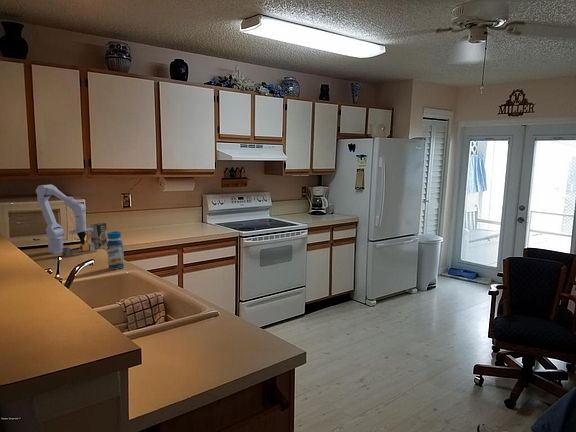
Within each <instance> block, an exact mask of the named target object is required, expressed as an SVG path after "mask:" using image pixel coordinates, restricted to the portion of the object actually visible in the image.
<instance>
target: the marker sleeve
mask: <svg viewBox="0 0 576 432" xmlns="http://www.w3.org/2000/svg"><path fill="white" fill-rule="evenodd" d="M86 243H87V240H86V239H84V244H81V243H80V244H79V247H82V249H79V251H88V250H89V244H86Z"/></svg>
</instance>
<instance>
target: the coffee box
mask: <svg viewBox="0 0 576 432" xmlns="http://www.w3.org/2000/svg"><path fill="white" fill-rule="evenodd" d="M89 228H93V231H90V242H92V243H94V246H95V250H96V249H97V250H101V249H103V248H108V247H107V243H108V236H107V233H108V230H107V223H106V222H103V223H102V222H99V223H94V224H90V225H89Z"/></svg>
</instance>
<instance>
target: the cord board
mask: <svg viewBox="0 0 576 432" xmlns="http://www.w3.org/2000/svg"><path fill="white" fill-rule="evenodd" d="M86 244H89V250H88V251H80V249H82V247H80V246H79V247H75V248H71V247H68V246H67V247H63V248H62V251H63V252H62V253H61V256H63V257H66V258H73V257H77V256H83V255H87V254H93V252H94V253H97V251H98V249H97V250H96V249H95V246H94V243H92V242H91V241H89V242H86Z"/></svg>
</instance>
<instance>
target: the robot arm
mask: <svg viewBox="0 0 576 432" xmlns="http://www.w3.org/2000/svg"><path fill="white" fill-rule="evenodd" d="M35 193H36V195H37V197H36V198H37V202H38V205H39V207H40V210H41V213H42V215H43V218H44V219H45V223H46V224H47V225H46V226H47V227H46V228H45V232H46V237H47V238H48V242H47V245H48V247H47V248H48V251H47V253H49V254H52V255H56V254H57V255H58V254H63V251H62V248H64V240H63V238H64V236H65V229H63V227H62V225H61V224H59V223H58V222H57V220H56V217H55V214H54V212H53V209H52V206H51V205H50V202H49V199H50V198H51V196H54V197H56V198H58V199H59V200H61V201H63V204H64V205H66V207H68V208H70V209H71V210H72V212H73V213H74V217H75V218H74V219H75V229H74V230H68V234H69V235H75V234H76V235H77V237H78V238H79V242H80V244H84V240H85V238H86V235H87V233H88V232H91V231H93V228H90V227H88V228H87V224H86V211H87V206H86V204H84V203H80V201H78V200H76V199H75V198H74V197H73V196H67V195H66V194H64V193H63V192H62V191H60V190H59V188H58V187H57V186H55V185H53V184H51V183H50V184H42V185H41V184H40V185H38V186H37V188H36V189H35Z"/></svg>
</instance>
